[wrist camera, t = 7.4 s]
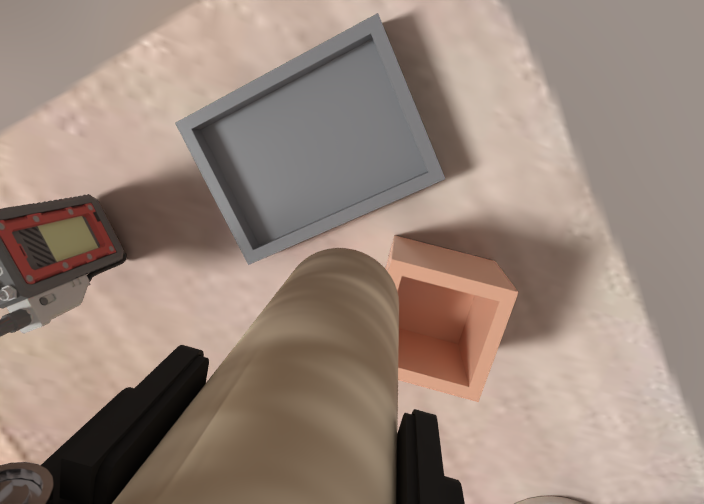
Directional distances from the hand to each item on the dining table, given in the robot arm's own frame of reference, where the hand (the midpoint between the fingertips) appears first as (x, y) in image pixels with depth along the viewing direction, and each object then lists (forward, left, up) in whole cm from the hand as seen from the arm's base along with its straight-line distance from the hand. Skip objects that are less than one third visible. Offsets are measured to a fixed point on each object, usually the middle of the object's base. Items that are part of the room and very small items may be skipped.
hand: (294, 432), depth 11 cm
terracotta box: (-6, +5, -28) cm, 29 cm away
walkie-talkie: (+25, +8, -28) cm, 38 cm away
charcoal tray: (+7, -5, -28) cm, 29 cm away
